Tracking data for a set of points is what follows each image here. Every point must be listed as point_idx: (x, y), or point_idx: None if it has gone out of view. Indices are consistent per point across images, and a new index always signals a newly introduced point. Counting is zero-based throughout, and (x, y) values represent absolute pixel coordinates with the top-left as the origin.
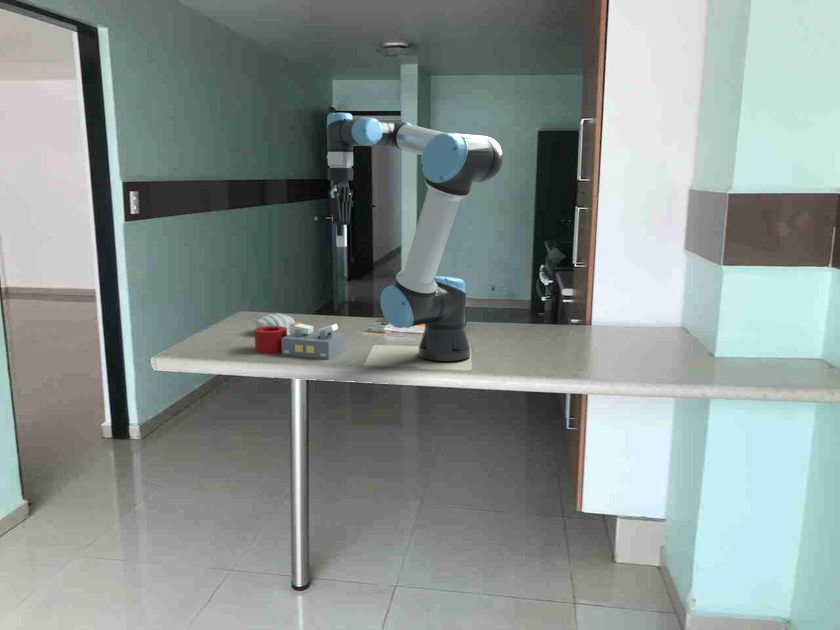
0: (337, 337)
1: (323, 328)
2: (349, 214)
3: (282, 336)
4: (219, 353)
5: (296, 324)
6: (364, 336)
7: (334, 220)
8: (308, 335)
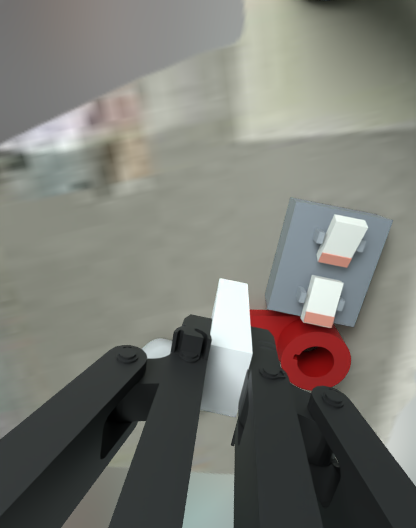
0: (342, 211)
1: (352, 247)
2: (87, 392)
3: (331, 329)
4: None
5: (324, 315)
6: (158, 182)
7: (333, 455)
8: None
